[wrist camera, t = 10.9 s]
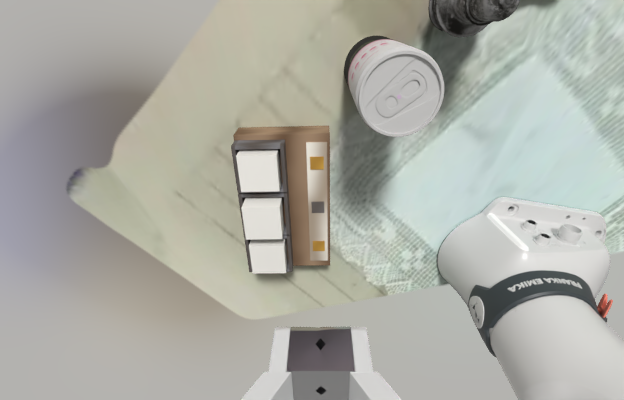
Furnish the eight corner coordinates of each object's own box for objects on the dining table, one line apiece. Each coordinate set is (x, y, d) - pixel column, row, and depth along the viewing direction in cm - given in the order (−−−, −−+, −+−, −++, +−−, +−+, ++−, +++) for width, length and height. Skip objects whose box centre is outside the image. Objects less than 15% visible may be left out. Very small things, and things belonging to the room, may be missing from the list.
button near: (278, 147, 39) (276, 155, 37) (281, 181, 41) (279, 191, 39) (240, 147, 39) (236, 155, 37) (245, 182, 42) (241, 192, 39)
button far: (285, 234, 45) (283, 245, 43) (287, 261, 47) (286, 273, 45) (252, 234, 45) (248, 246, 43) (255, 261, 47) (252, 273, 45)
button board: (328, 125, 42) (330, 139, 37) (329, 252, 51) (330, 274, 46) (238, 127, 42) (229, 141, 38) (255, 252, 51) (249, 275, 47)
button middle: (281, 197, 41) (279, 207, 39) (284, 227, 43) (282, 239, 41) (245, 197, 42) (241, 207, 39) (249, 228, 44) (245, 239, 41)
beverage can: (413, 73, 39) (462, 104, 25) (365, 109, 41) (387, 154, 27) (382, 21, 36) (418, 26, 23) (332, 62, 38) (339, 88, 25)
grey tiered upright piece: (486, -36, 34) (563, -58, 23) (482, 30, 36) (548, 37, 26) (425, -25, 34) (473, -42, 24) (425, 39, 37) (467, 50, 26)
